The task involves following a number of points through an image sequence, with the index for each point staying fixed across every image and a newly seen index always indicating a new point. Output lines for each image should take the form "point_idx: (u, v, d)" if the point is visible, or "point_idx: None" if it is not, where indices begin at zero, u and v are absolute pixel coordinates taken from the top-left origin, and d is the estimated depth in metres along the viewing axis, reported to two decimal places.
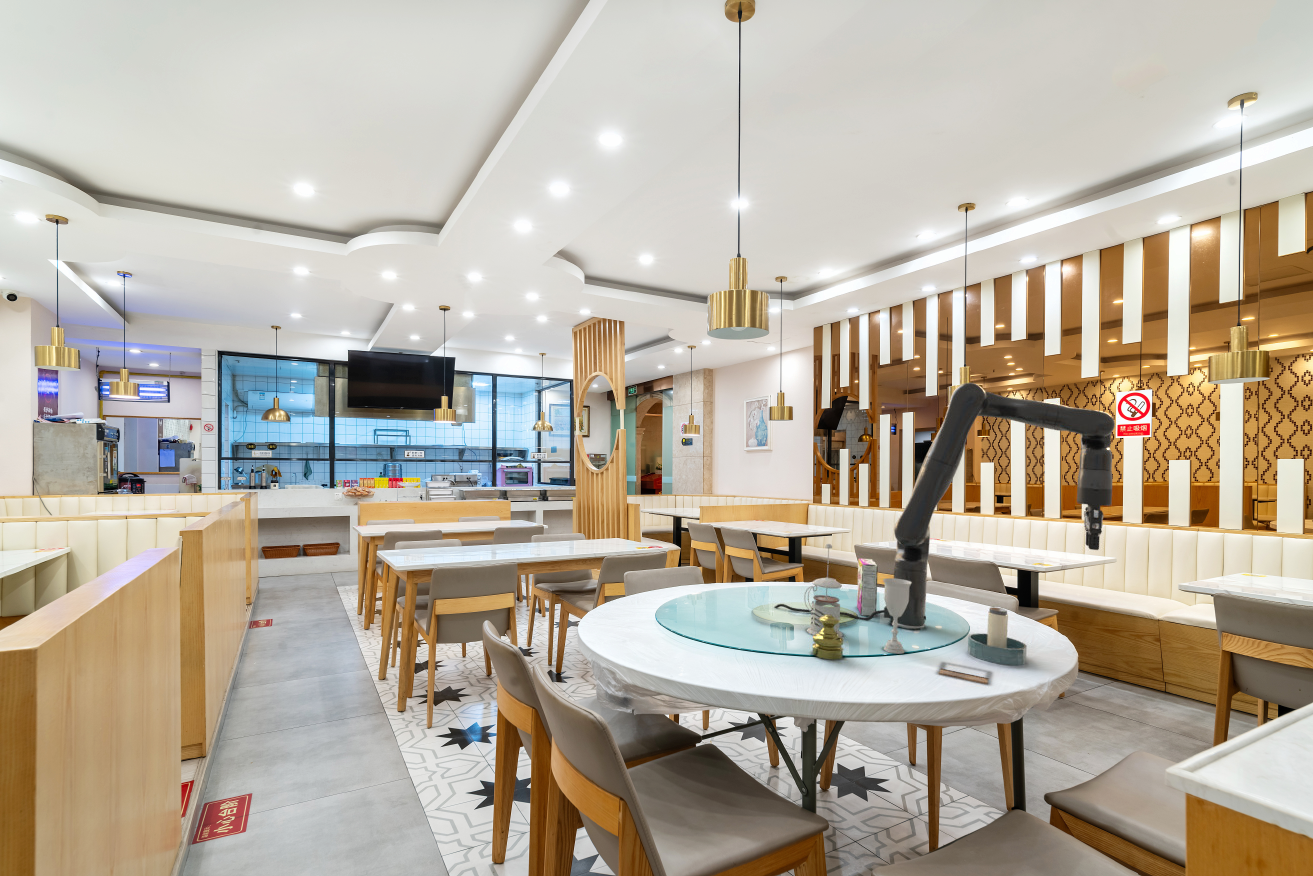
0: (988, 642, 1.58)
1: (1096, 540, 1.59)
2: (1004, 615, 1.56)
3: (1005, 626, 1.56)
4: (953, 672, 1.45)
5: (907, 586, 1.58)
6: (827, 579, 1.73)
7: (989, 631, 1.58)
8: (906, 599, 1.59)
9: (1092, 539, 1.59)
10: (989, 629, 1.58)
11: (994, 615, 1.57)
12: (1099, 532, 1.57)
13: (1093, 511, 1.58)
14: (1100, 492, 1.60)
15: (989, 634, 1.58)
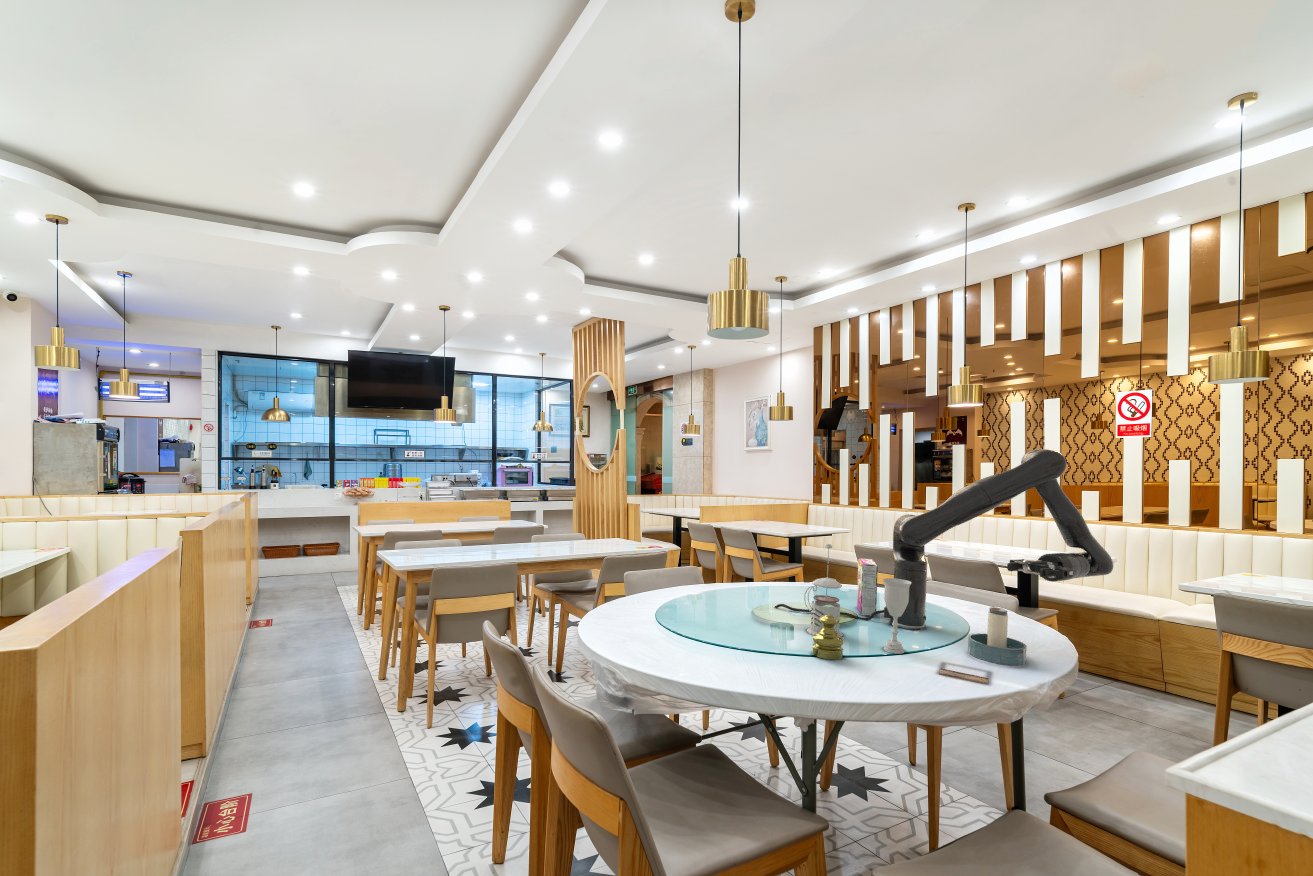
0: (988, 642, 1.58)
1: (1050, 575, 1.61)
2: (1004, 615, 1.56)
3: (1005, 626, 1.56)
4: (953, 672, 1.45)
5: (907, 586, 1.58)
6: (827, 579, 1.73)
7: (989, 631, 1.58)
8: (906, 599, 1.59)
9: (1051, 571, 1.61)
10: (989, 629, 1.58)
11: (994, 615, 1.57)
12: (1062, 577, 1.60)
13: (1072, 570, 1.63)
14: None
15: (989, 634, 1.58)
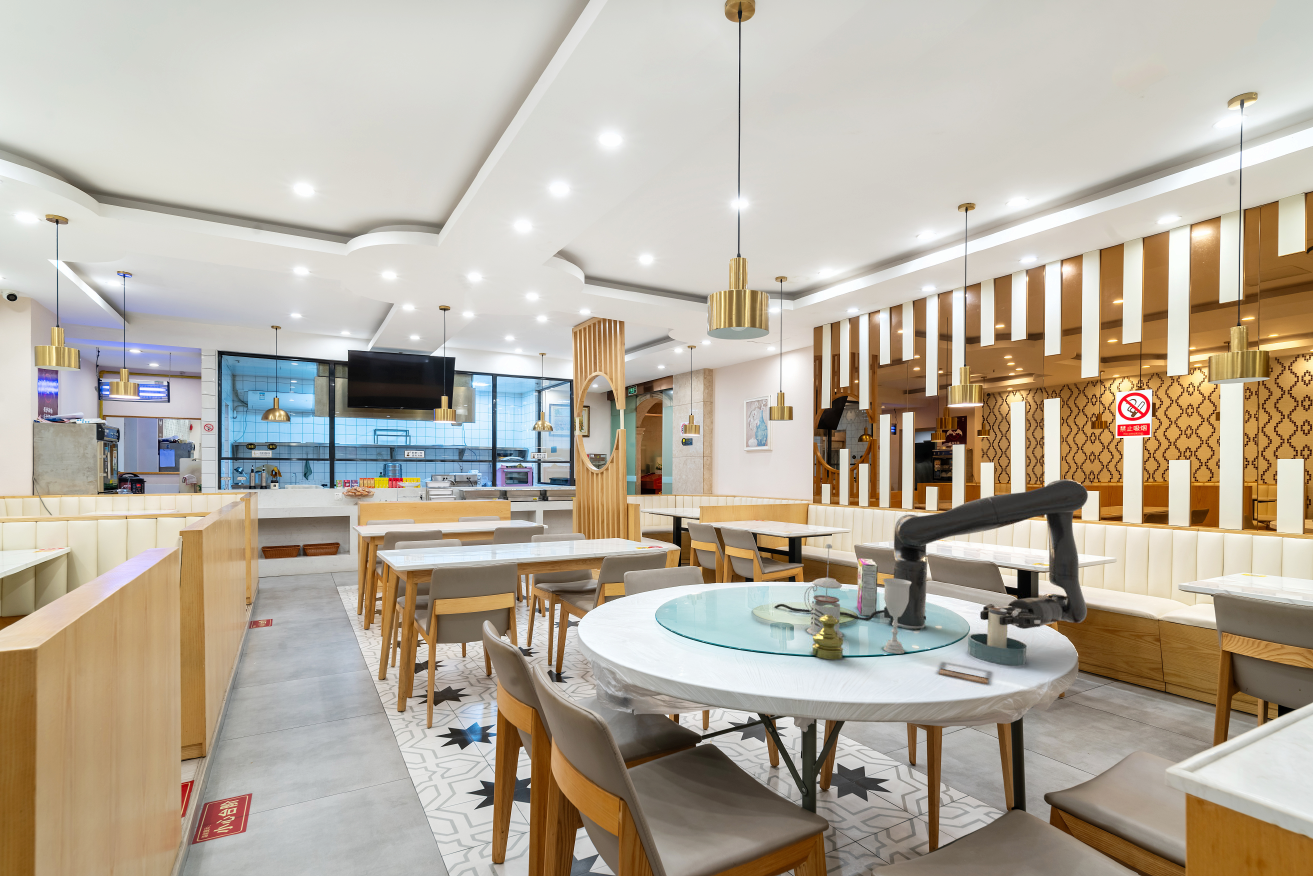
0: (988, 642, 1.58)
1: (1010, 622, 1.55)
2: None
3: (1005, 626, 1.56)
4: (953, 672, 1.45)
5: (907, 586, 1.58)
6: (827, 579, 1.73)
7: (989, 631, 1.58)
8: (906, 599, 1.59)
9: (1011, 619, 1.55)
10: (989, 629, 1.58)
11: (994, 615, 1.57)
12: (1021, 625, 1.55)
13: (1039, 619, 1.56)
14: (1040, 620, 1.62)
15: (989, 634, 1.58)
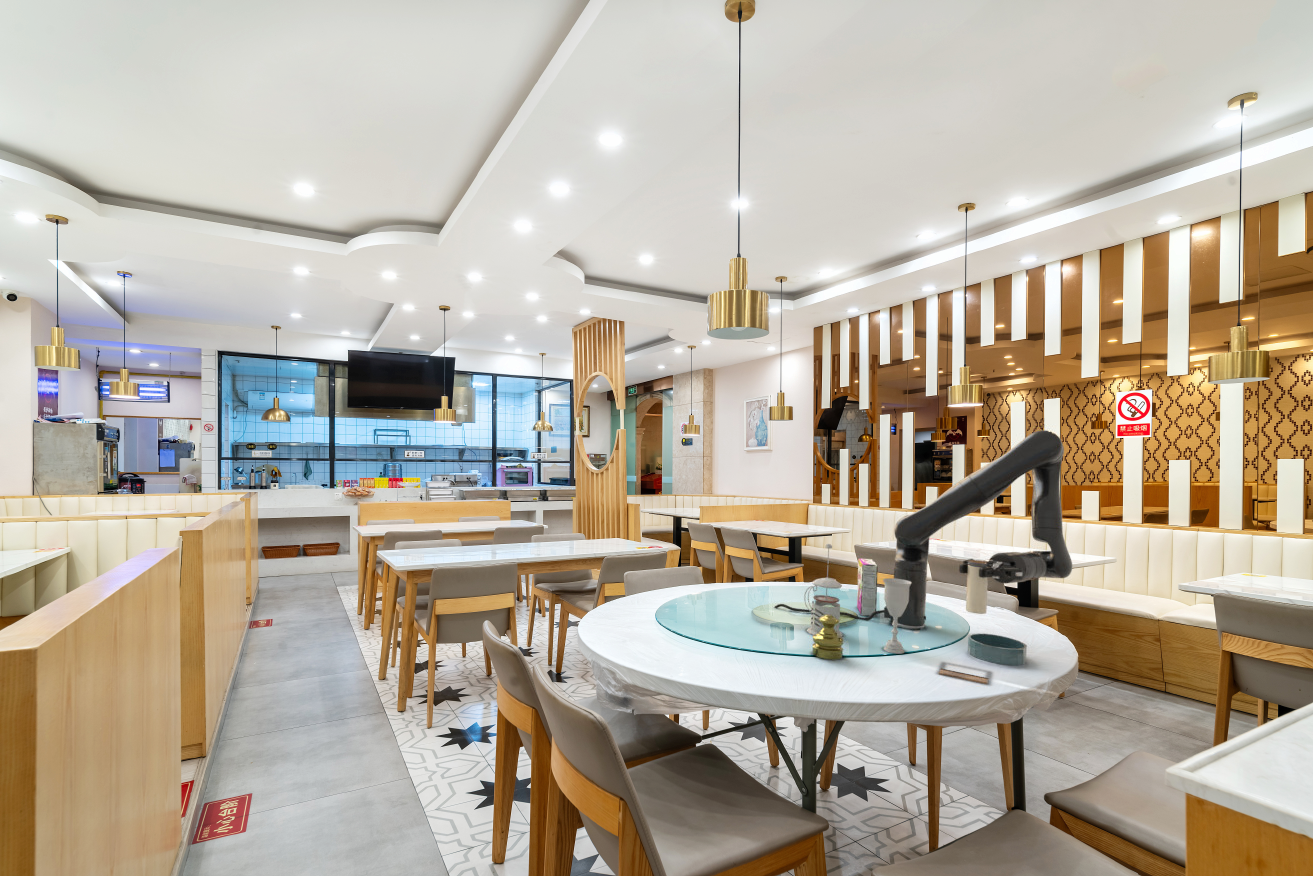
0: (967, 596, 1.49)
1: (990, 575, 1.46)
2: (984, 567, 1.47)
3: (985, 579, 1.47)
4: (953, 672, 1.45)
5: (907, 586, 1.58)
6: (827, 579, 1.73)
7: (968, 585, 1.49)
8: (906, 599, 1.59)
9: (991, 571, 1.46)
10: (968, 583, 1.49)
11: (974, 567, 1.48)
12: (1002, 577, 1.46)
13: (1021, 571, 1.47)
14: (1022, 574, 1.53)
15: (969, 588, 1.49)
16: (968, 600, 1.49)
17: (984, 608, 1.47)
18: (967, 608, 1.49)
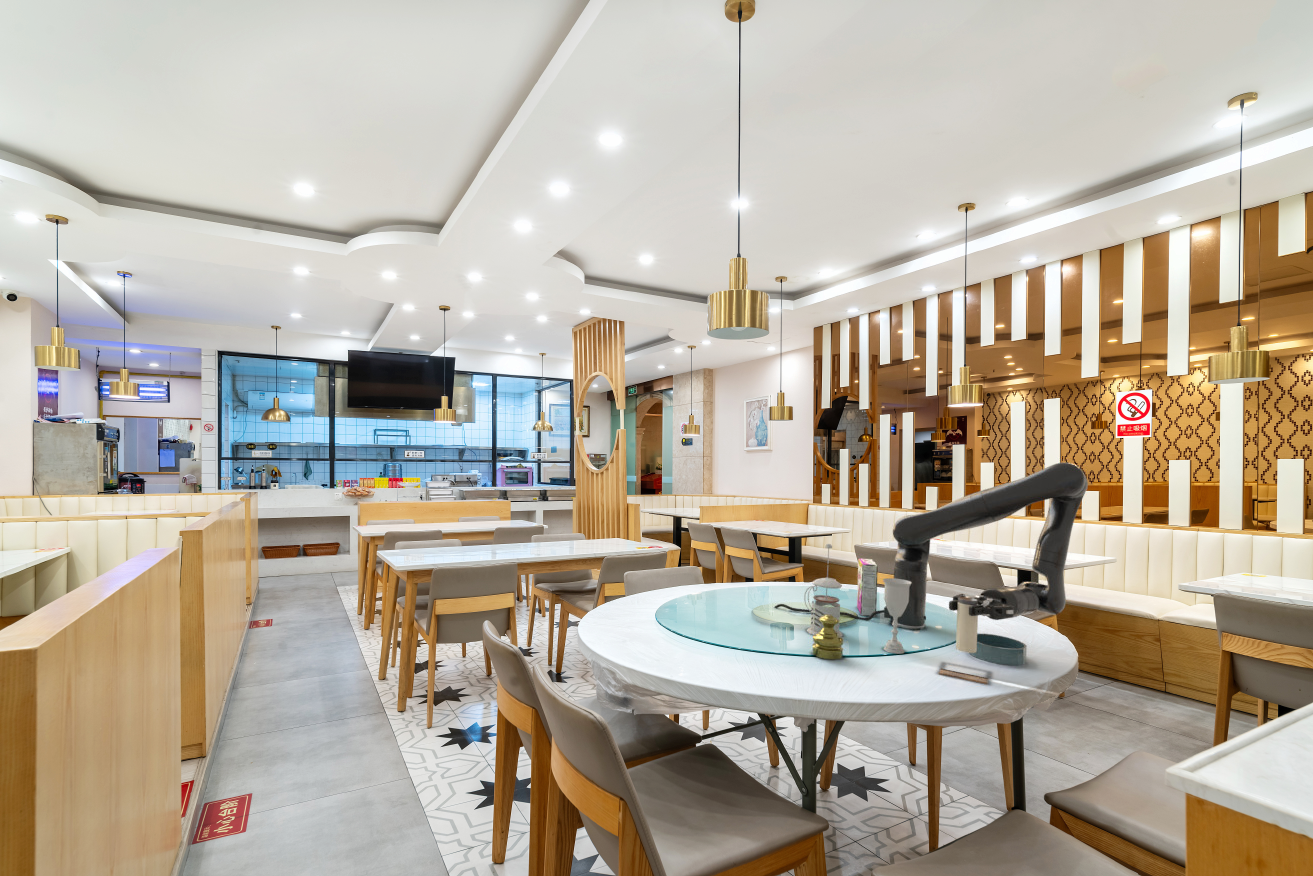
0: (957, 634, 1.46)
1: (980, 613, 1.43)
2: None
3: (975, 617, 1.44)
4: (953, 672, 1.45)
5: (907, 586, 1.58)
6: (827, 579, 1.73)
7: (958, 622, 1.46)
8: (906, 599, 1.59)
9: (981, 609, 1.43)
10: (958, 620, 1.46)
11: (963, 605, 1.45)
12: (992, 615, 1.43)
13: (1012, 609, 1.44)
14: (1014, 611, 1.49)
15: (959, 626, 1.46)
16: (958, 638, 1.46)
17: (974, 647, 1.44)
18: (957, 646, 1.46)
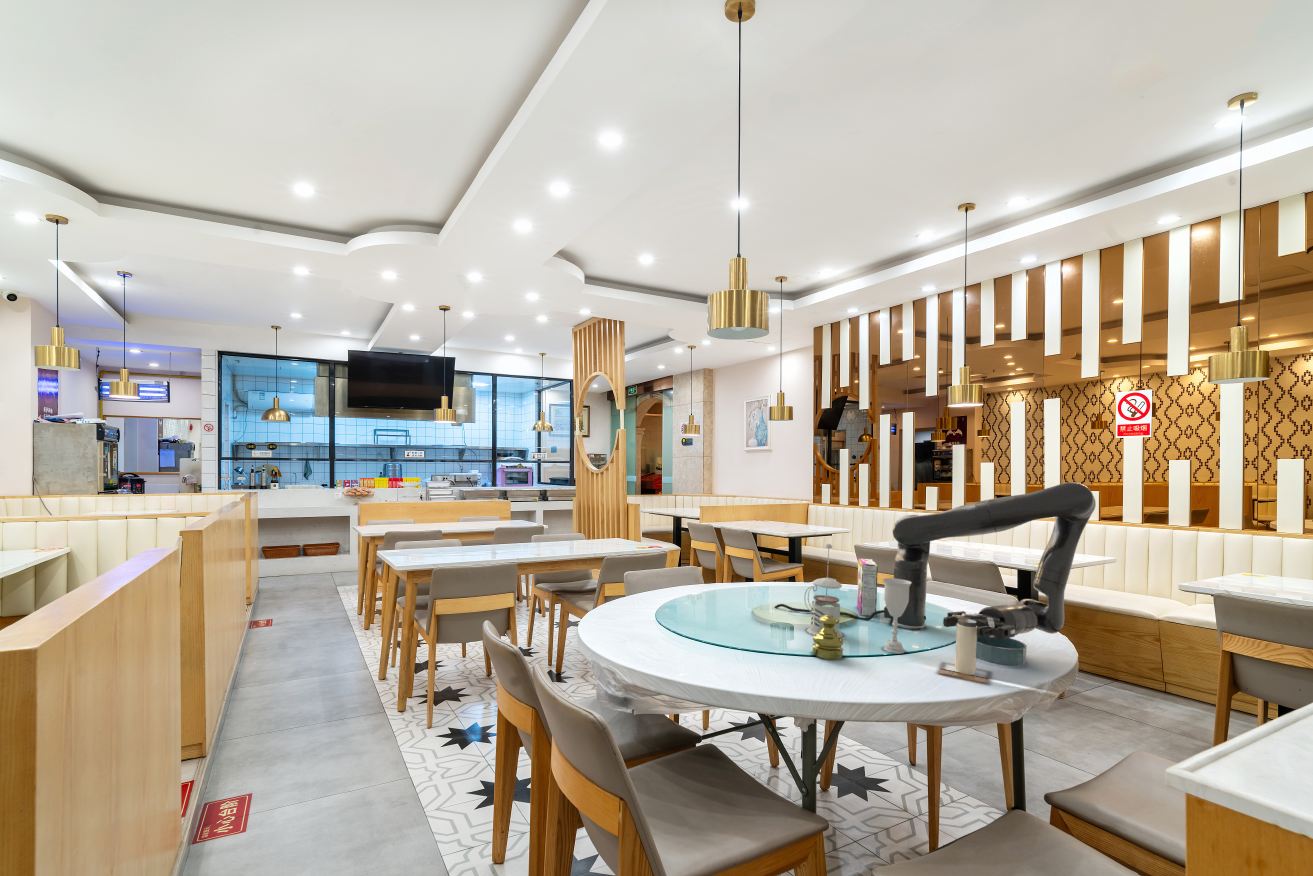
0: (956, 656, 1.46)
1: (988, 634, 1.42)
2: (973, 627, 1.44)
3: (974, 639, 1.44)
4: (953, 672, 1.45)
5: (907, 586, 1.58)
6: (827, 579, 1.73)
7: (957, 644, 1.46)
8: (906, 599, 1.59)
9: (989, 630, 1.42)
10: (957, 642, 1.46)
11: (963, 627, 1.45)
12: (1001, 637, 1.41)
13: (1014, 628, 1.44)
14: None
15: (958, 647, 1.45)
16: (957, 660, 1.45)
17: (973, 669, 1.44)
18: (956, 668, 1.46)
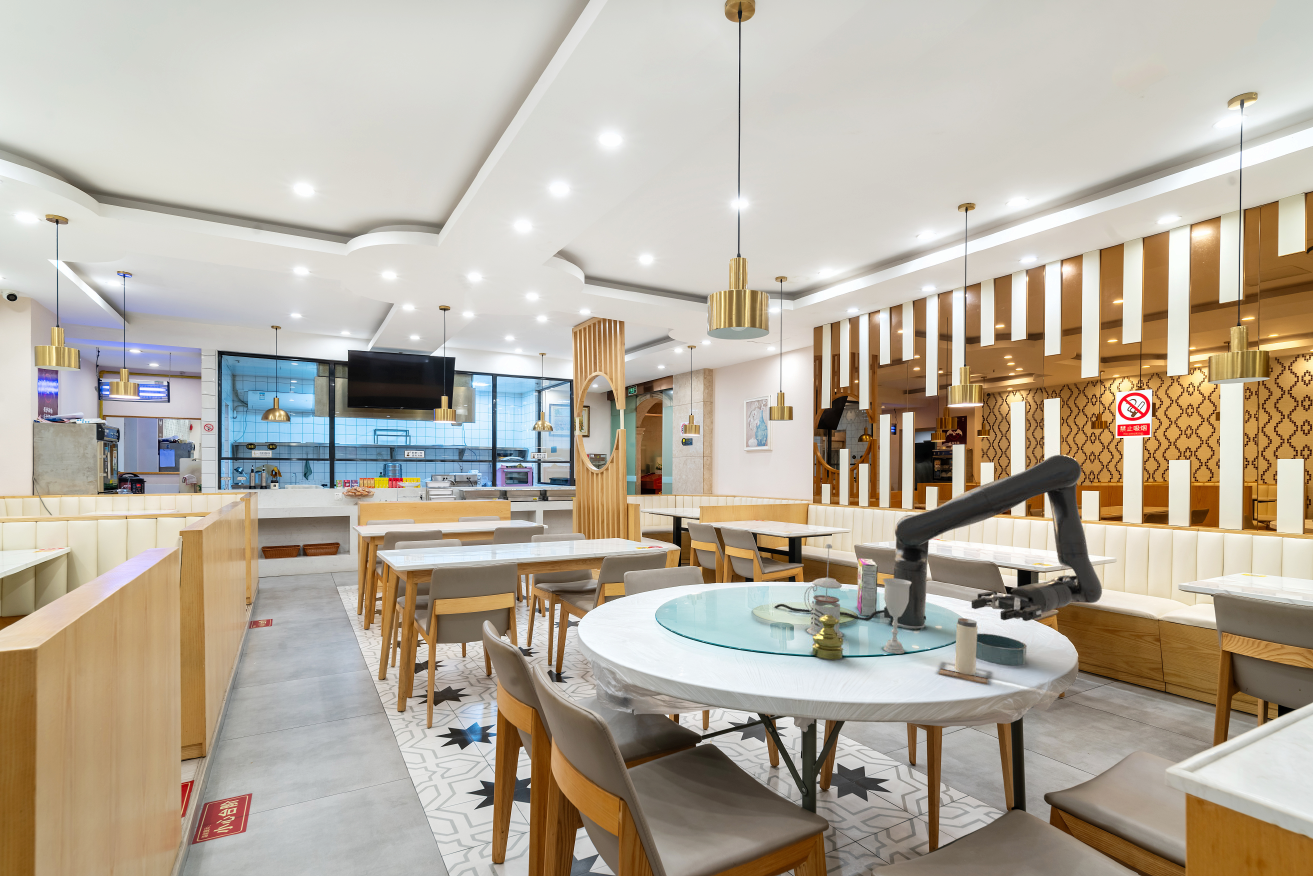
0: (956, 656, 1.46)
1: (1013, 617, 1.50)
2: (973, 627, 1.44)
3: (974, 639, 1.44)
4: (953, 672, 1.45)
5: (907, 586, 1.58)
6: (827, 579, 1.73)
7: (957, 644, 1.46)
8: (906, 599, 1.59)
9: (1013, 613, 1.50)
10: (957, 642, 1.46)
11: (963, 627, 1.45)
12: (1026, 619, 1.49)
13: (1040, 609, 1.51)
14: (1042, 608, 1.56)
15: (958, 647, 1.45)
16: (957, 660, 1.45)
17: (973, 669, 1.44)
18: (956, 668, 1.46)
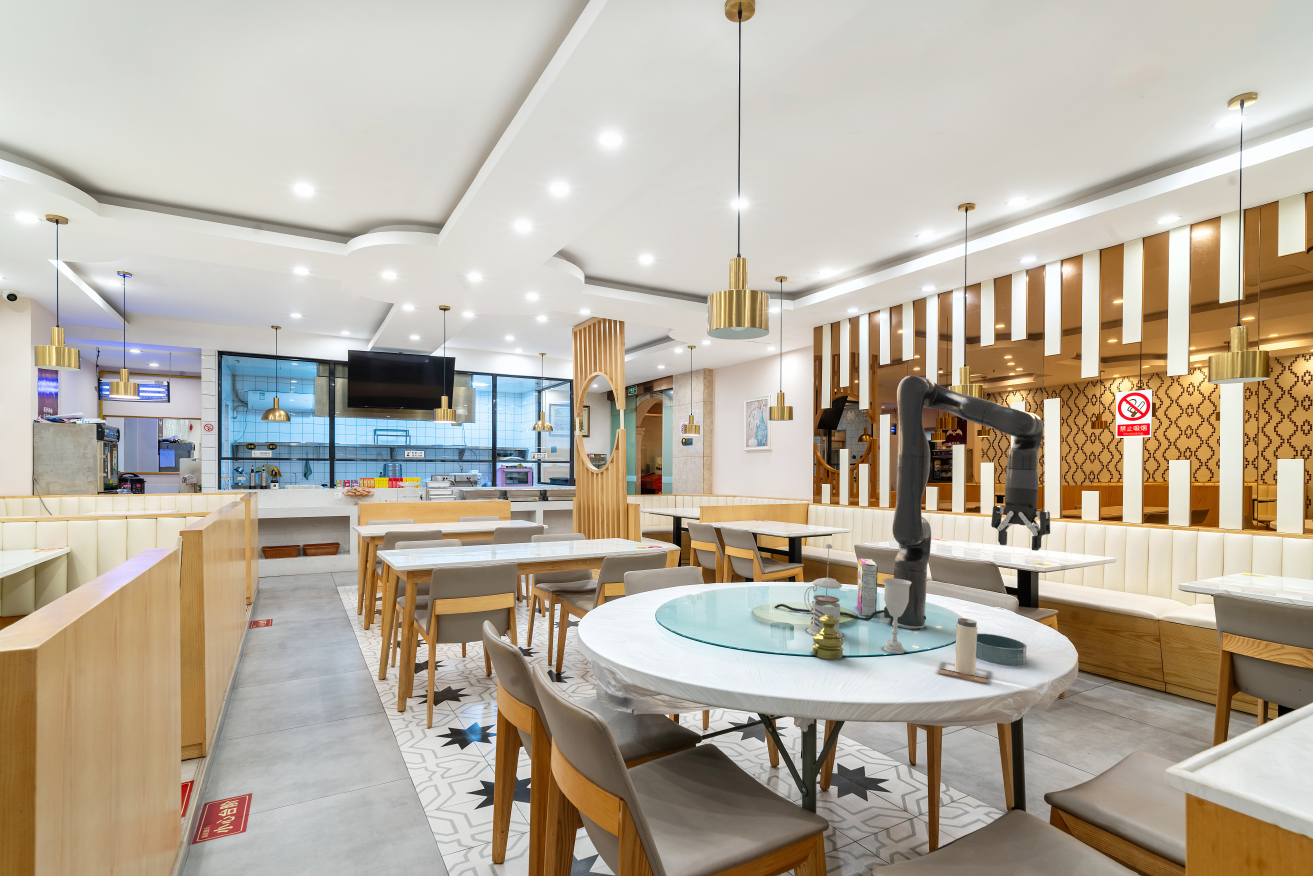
0: (956, 656, 1.46)
1: (1040, 541, 1.59)
2: (973, 627, 1.44)
3: (974, 639, 1.44)
4: (953, 672, 1.45)
5: (907, 586, 1.58)
6: (827, 579, 1.73)
7: (957, 644, 1.46)
8: (906, 599, 1.59)
9: (1038, 540, 1.59)
10: (957, 642, 1.46)
11: (963, 627, 1.45)
12: (1048, 533, 1.58)
13: (1045, 512, 1.58)
14: (1037, 493, 1.61)
15: (958, 647, 1.45)
16: (957, 660, 1.45)
17: (973, 669, 1.44)
18: (956, 668, 1.46)
